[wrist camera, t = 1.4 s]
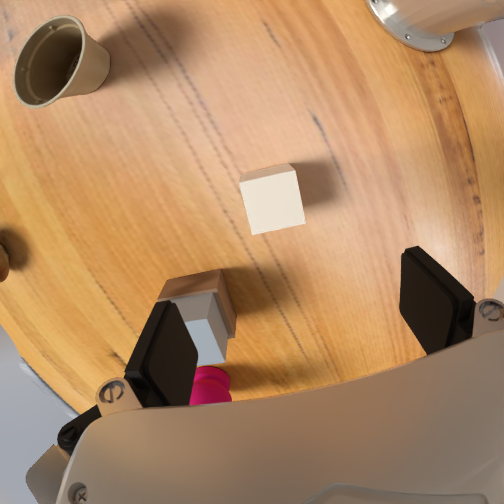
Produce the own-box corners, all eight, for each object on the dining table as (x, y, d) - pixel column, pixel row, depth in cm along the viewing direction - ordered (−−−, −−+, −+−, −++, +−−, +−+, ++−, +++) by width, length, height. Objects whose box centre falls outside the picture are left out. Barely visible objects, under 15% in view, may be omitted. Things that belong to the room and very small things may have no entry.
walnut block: (221, 267, 34) (216, 288, 29) (236, 314, 36) (234, 337, 32) (167, 279, 34) (157, 299, 30) (186, 323, 37) (179, 345, 33)
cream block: (288, 163, 28) (295, 170, 24) (297, 208, 30) (305, 223, 26) (241, 173, 29) (238, 182, 24) (252, 218, 31) (252, 235, 26)
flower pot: (135, 34, 22) (99, 10, 14) (112, 111, 26) (67, 111, 18) (72, 35, 21) (29, 21, 13) (52, 105, 24) (4, 107, 17)
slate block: (212, 292, 30) (206, 318, 26) (228, 334, 32) (225, 362, 28) (161, 301, 30) (150, 326, 26) (180, 341, 33) (173, 367, 29)
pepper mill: (240, 373, 41) (236, 494, 23) (222, 396, 44) (212, 504, 25) (196, 357, 40) (173, 481, 21) (181, 382, 42) (159, 491, 24)
